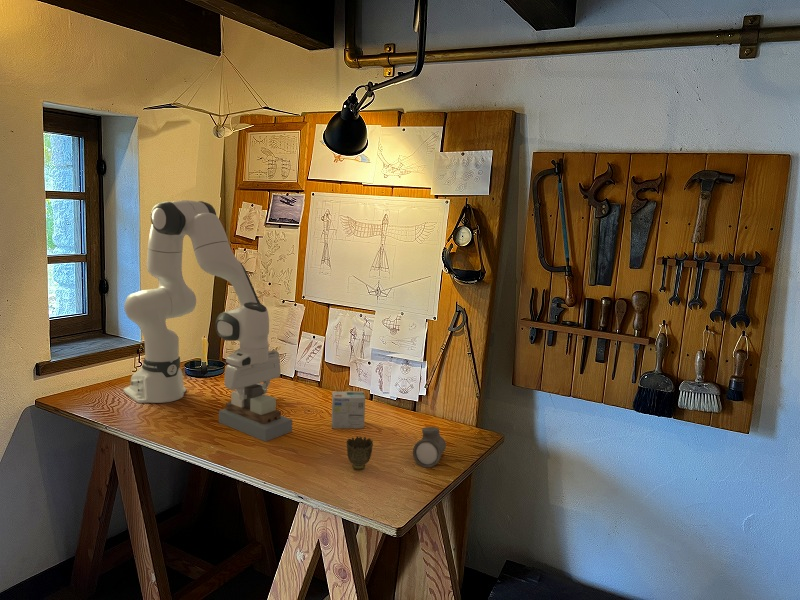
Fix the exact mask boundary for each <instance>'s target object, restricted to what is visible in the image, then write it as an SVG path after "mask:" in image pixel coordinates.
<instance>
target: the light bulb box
mask: <svg viewBox="0 0 800 600" xmlns="http://www.w3.org/2000/svg"><path fill="white" fill-rule="evenodd" d="M364 393H365V392H364V391H363V390H358V391H354V390H353V391H349V390H348V391H334V390H333V391H332V395H331V399H332V400H331V428H332V430H333V429H364V428H365V419H366V418H365V417H366V416H365V415H366V414H365V413H366V395H365V394H364Z"/></svg>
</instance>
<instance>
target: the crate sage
mask: <svg viewBox="0 0 800 600" xmlns="http://www.w3.org/2000/svg"><path fill="white" fill-rule="evenodd" d="M276 400H277V399H276V397H274V396H271V395H269V394H262V395H261V396H258V397H255V398H251V399H250V411H252V412H254V413H257V414H259V415H263V414H266V413H269V412H272V411H275V410H277V409H276V408H277V407H276V405H277V401H276Z"/></svg>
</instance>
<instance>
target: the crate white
mask: <svg viewBox="0 0 800 600" xmlns="http://www.w3.org/2000/svg"><path fill="white" fill-rule="evenodd" d="M243 392H244V390H243ZM230 396H231V399H230V401H231V404H233V405H236V406H238V407H241V408H242V407H244V400H243V401H242V400H240V399H239V393H238V391H237V390H232V391H231V395H230Z"/></svg>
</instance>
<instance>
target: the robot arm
mask: <svg viewBox="0 0 800 600" xmlns="http://www.w3.org/2000/svg"><path fill="white" fill-rule="evenodd" d="M150 223H151V226H150V230H149V236H148V240H147V241H148V242H147V254H146V255H147V257H146V269H147V273H148V274H150V275H151V276H152V277H153V278H156V279H157V281H158V287H157V288H149V289H141V290H139V291H136V292H133V293H130V294H128V295H127V297H126V299H125V301H124V304H123V305H124V312H125V314H126V316H127V318H128V319H129V320H130V321H131V322H134V323H135V324H136V325H137V326H138V328H139V329H140V330H141V332H142V335H143V340H144V357H142V358H140V359H141V362H142V365H141V368H139V370H137V371H136V372H134V373H133V374H132V375H131V376H130V377H131V378H130V385H129V386H126V387H124V388H123V393H125V394H126V395H128V396H129V397H130V398H131V399H132V400H134V401H135V402H136V403H138V404H139V403H140V404H143V403H144V404H146V403H152V404H153V403H154V404H155V403H157V404H159V403H161V404H162V403H172V402H174V401H177V400H180V399H182V398H183V397H184V395H185V393H186V391H187V388H186V387H185V386H184V377H183V370H182V369H181V357H180V353H179V349H180V345H179V343H180V342H179V341H180V340H179V336H178V334H177V333H176V332H174V331H173V330H171V329H169V328H168V326H167V323H166V320H168V319H174V318H180V317H183V316H185V315H188V314H189V313H190V314H191V313H192V312H194V310H195V308H196V305H197V296H196V294H195V292H194V290H193V289H192V288H190V287H189V286H188V285H187V283H186V282H185V279H184V276H183V270H182V269H183V266H182V265H183V245H184V237H185V236H187V237H189V238H190V240H191V244H192V248H193V252H194V256H195V260H196V262H197V264H198V266H199V267H200V269H201V270H202V271H204V272H206V273H207V274H209V275H210V276H211V275H212V276H215V277H218V278H221V279H223V280H225V281H227V282H228V283H230V284H231V287H233V289H234V292H235V294H236V297H237V299H238V301H239V303H240V305H241V306H238V307H237V308H234V309H230V310H225V311H223V312H221V313H219V314H218V316H217V317H216V320H215V331H216V333H217V335H218V337H219V338H221V339H222V340H224V341H226V342H228V341H229V342H230V341H231V342H232V341H238V342H239V348H238V349H236V350H234V352H232V353H230V354H228V355H227V356H226V358H225V362H226V363H227V365H226V366H225V370H224V386H225V388H226V389H228V390H230V391H236V390H237V391H238V393H239V399H240V400H242V401H243V400H246V399H247V394H244V392H243V390H244V387H247V386H250V385H254V384H257V383H261V384H263V385H262V386H263V391H262V395H264V394H265V395H267V393H268V387H269V386H270V383H271V380H274V379H278V378H279V377H280V376H281V371H282V370H281V362H280V353H279V352H278V351H277V350H276V349H272V350H269V349H270V348H269V346H270V345H269V341H268V338H269V333H270V317H269V311H268V308H267V307H266V306H265V305H264V304H262V303H261V301H260V300H259V297H258V296H257V293H256V291H255V289H254V286H253V283H252V281H251V279H250V277H249V275H248V272H247V270H246V268H245V267H244V265H243V263H242V262H241V261H239V259H238V258H237V257H236V255H235V254H234V252H233V250H232V248H231V246H230V243H229V239H228V236H227V234H226V231H225V228H224V226H223V224H222V222H221V220H220V218H219V217H218V216H217V213H216V208H214V207H213V205H212V204H210V203H209V202H207V201H206V202H205V201H203V200H198V201H195V200H187V199H186V200H185V199H184V200H183V199H182V200H175V201H167V200H166V201H162V202H159V203H157V204H155V205H154V206H153V207H152V209H151V213H150Z"/></svg>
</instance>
